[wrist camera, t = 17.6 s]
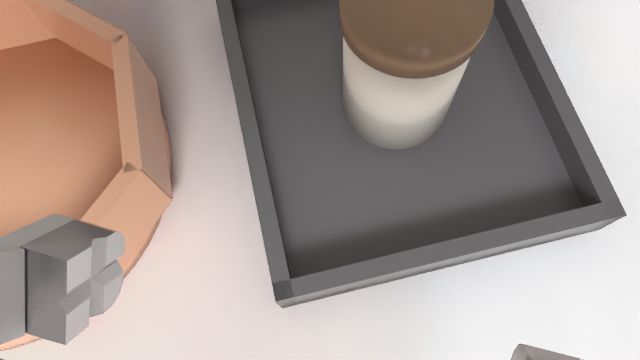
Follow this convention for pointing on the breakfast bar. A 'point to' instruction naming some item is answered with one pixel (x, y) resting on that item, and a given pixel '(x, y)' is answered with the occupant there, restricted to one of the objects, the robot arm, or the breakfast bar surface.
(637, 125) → the breakfast bar surface
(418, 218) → the tray
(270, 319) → the breakfast bar surface
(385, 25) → the spice jar
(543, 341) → the breakfast bar surface
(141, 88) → the bowl
